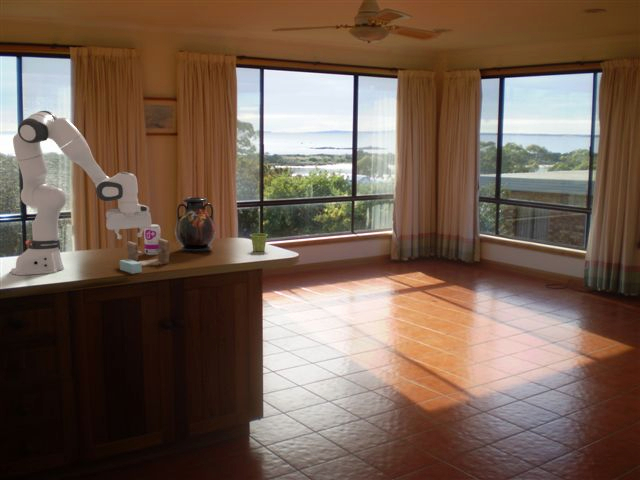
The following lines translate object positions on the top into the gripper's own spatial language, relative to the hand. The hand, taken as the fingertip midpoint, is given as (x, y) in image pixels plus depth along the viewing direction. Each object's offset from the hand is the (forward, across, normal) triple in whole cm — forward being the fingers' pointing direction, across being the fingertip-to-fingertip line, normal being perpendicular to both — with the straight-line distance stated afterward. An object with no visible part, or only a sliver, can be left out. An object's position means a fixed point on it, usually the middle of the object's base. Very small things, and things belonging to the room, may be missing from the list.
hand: (129, 238), depth 315 cm
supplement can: (+16, +25, +35) cm, 46 cm away
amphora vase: (+16, +48, +32) cm, 60 cm away
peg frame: (+15, +13, +11) cm, 23 cm away
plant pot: (+16, +76, +13) cm, 79 cm away
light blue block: (+15, 0, 0) cm, 16 cm away
